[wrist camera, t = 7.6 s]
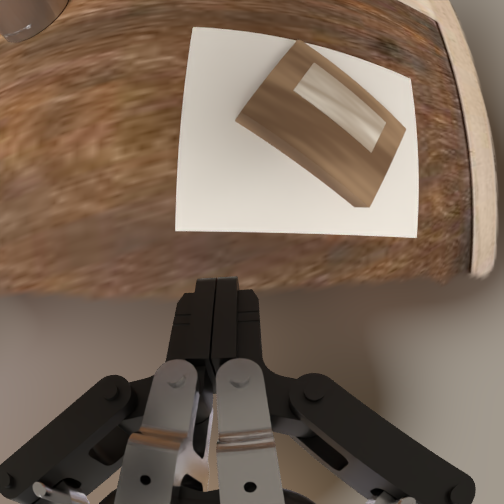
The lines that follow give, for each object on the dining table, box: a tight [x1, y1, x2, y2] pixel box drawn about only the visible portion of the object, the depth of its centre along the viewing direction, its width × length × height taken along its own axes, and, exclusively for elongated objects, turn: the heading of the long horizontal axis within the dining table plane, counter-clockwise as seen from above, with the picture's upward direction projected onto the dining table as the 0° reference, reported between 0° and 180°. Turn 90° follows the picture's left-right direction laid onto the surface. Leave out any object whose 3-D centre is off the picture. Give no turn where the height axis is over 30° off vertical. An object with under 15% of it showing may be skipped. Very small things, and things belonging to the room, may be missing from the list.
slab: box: [235, 39, 406, 208], centre depth 24 cm, size 3×14×10 cm
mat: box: [175, 27, 419, 238], centre depth 26 cm, size 20×26×1 cm
